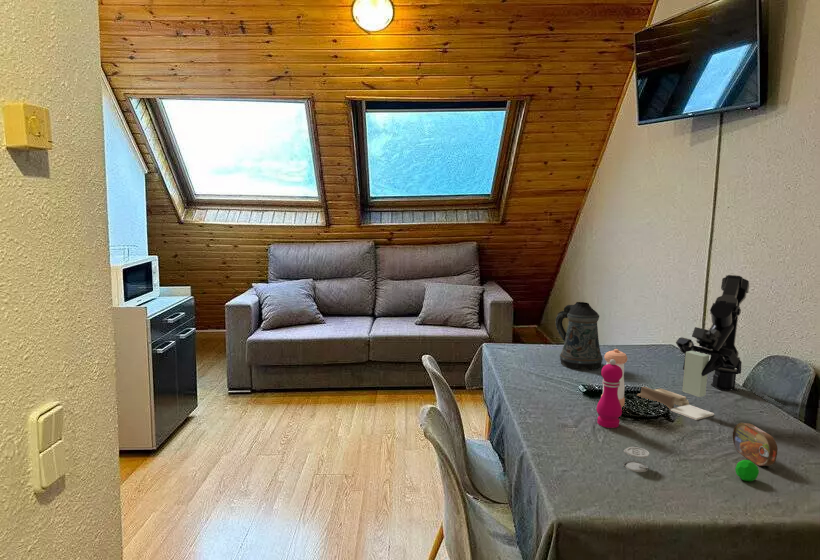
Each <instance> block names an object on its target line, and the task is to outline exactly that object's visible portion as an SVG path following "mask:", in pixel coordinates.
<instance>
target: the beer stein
mask: <svg viewBox="0 0 820 560" xmlns="http://www.w3.org/2000/svg"><path fill="white" fill-rule="evenodd" d="M564 319H568V324H567V328H566V330H565V327H564V326H563V321H564ZM599 319H600V315H599V313H598V312H597V311H596V310H595V309H594V308H593V307H592V306H591V305H590V303H589V302H584V301H576V302H575V303H574V304H568V305H565V307H564V308H563V310H561V311H560V312H558V313H557V315H556V318H555V327H556V330H557V333H558V335H559V336H560V338H561V339H562V341H563V342H564V344H563V346H562V350H561V352H560V354H559V360H560V364H561V365H562V366H563V367H565V368H567V369H572V370H576V371H595V370H599V369H602V363H603V360H604V359H603V358H604V356H602V352H601V348H600V341H599V330H598V321H599Z"/></svg>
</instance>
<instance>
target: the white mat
mask: <svg viewBox="0 0 820 560" xmlns="http://www.w3.org/2000/svg"><path fill="white" fill-rule="evenodd" d="M670 411H671V412H673V413H676V414H679V415H682V416H684V417H686V418H688V419H689V418H690V419H693V420H695V421H698V420H701V419H705V418H709V417H712V416H715V413H714V412H711V411H709V410H705V409H704V408H703V409H702V408H700V407H697V406H694V405H691V404H690V403H689V404H688V405H684V406H677V407H674V408H673V409H671V410H670Z"/></svg>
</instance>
